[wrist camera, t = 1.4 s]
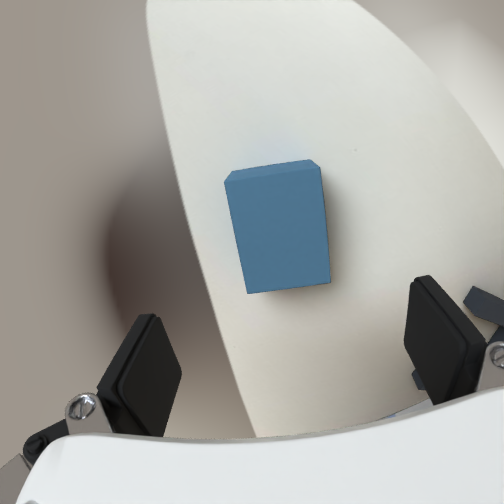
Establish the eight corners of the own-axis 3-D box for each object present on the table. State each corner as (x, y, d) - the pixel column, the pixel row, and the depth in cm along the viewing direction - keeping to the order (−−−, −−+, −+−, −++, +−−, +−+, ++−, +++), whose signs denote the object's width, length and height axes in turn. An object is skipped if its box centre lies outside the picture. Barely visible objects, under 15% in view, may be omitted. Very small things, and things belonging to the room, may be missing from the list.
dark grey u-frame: (472, 285, 24) (485, 298, 21) (529, 312, 25) (539, 323, 23) (411, 374, 28) (418, 389, 26) (477, 383, 30) (484, 395, 27)
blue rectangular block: (310, 159, 20) (320, 166, 17) (321, 257, 23) (330, 283, 20) (231, 171, 21) (223, 181, 17) (250, 267, 24) (247, 294, 20)
